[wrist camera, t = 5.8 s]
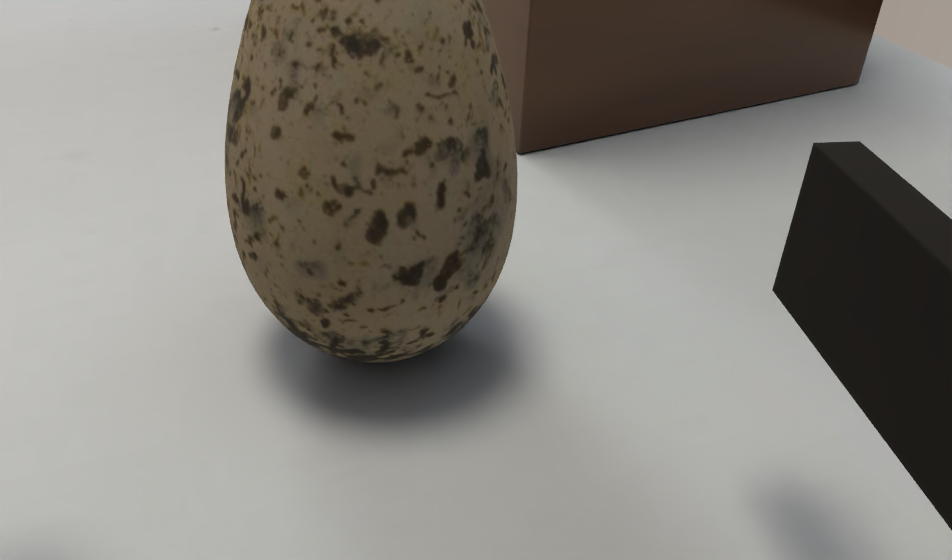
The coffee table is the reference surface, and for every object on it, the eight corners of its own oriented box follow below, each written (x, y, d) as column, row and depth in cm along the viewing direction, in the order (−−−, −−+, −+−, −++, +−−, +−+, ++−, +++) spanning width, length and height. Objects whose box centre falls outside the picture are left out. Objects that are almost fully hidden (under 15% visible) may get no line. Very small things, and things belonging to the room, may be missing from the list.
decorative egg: (547, 314, 21) (596, -129, 16) (417, 466, 17) (419, -70, 11) (350, 244, 24) (331, -165, 18) (191, 363, 19) (100, -127, 14)
